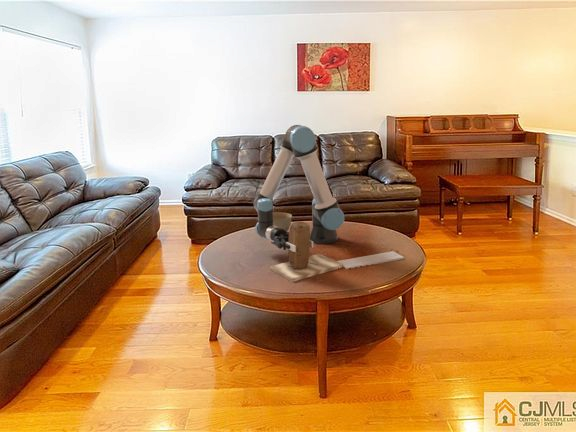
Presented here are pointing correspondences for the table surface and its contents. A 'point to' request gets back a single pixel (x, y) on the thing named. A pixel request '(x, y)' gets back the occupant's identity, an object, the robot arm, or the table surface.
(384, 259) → the baseboard
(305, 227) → the block
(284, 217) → the planter bowl
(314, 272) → the board
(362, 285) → the table surface
